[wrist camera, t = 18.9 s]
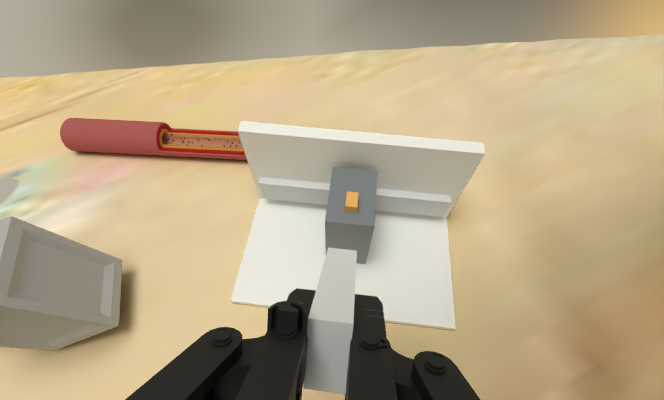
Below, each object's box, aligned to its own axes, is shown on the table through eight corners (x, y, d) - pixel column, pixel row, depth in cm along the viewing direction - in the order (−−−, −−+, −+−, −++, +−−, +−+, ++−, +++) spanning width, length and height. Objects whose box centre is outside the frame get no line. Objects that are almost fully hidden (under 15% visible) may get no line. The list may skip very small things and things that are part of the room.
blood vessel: (343, 147, 53) (345, 124, 49) (342, 171, 51) (343, 149, 46) (90, 134, 54) (70, 110, 50) (75, 157, 52) (53, 134, 48)
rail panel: (444, 211, 46) (483, 142, 35) (453, 330, 38) (509, 293, 26) (263, 192, 48) (241, 121, 36) (232, 302, 39) (190, 256, 28)
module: (368, 216, 45) (378, 165, 36) (365, 264, 41) (375, 221, 32) (332, 212, 45) (332, 161, 36) (325, 259, 41) (324, 216, 32)
